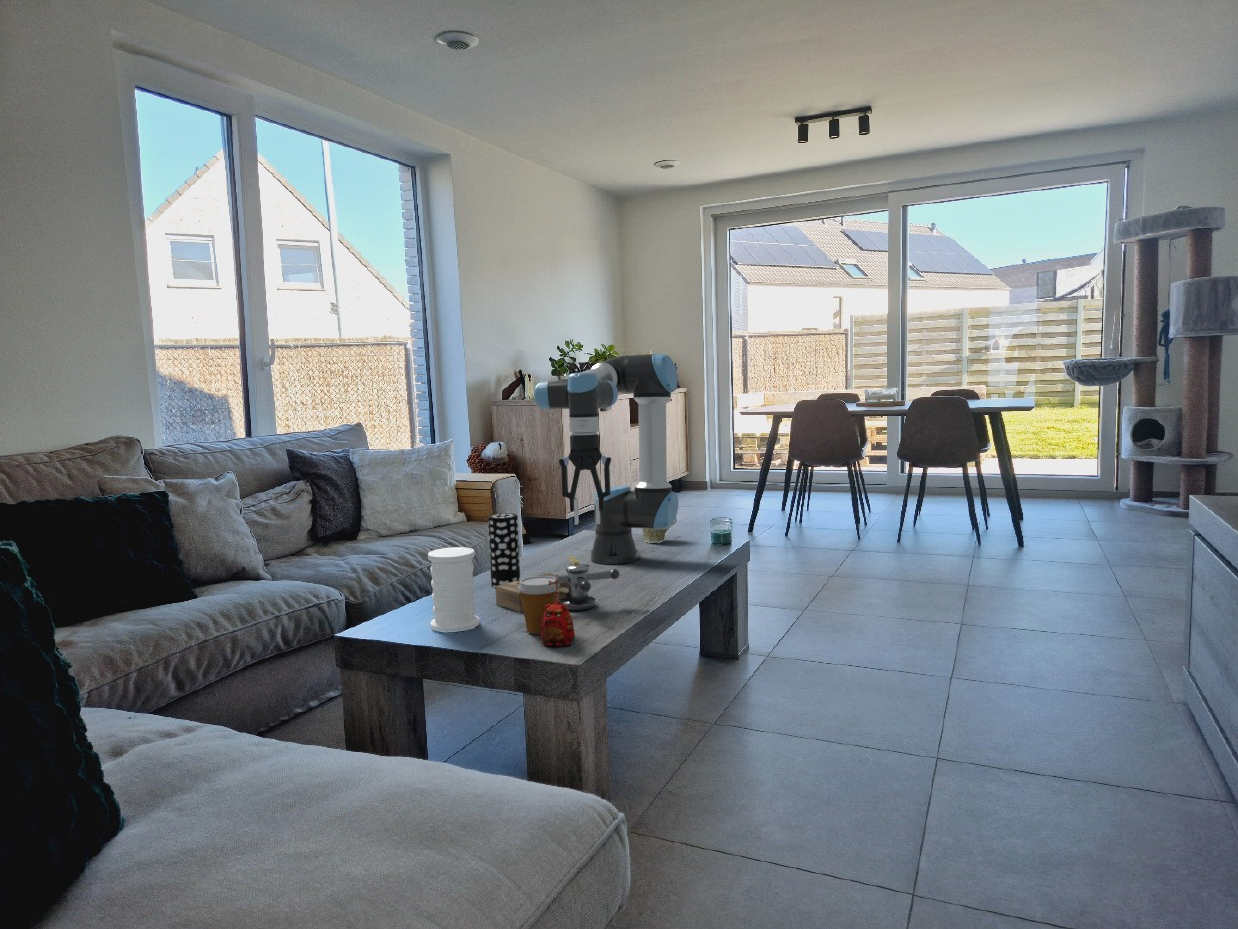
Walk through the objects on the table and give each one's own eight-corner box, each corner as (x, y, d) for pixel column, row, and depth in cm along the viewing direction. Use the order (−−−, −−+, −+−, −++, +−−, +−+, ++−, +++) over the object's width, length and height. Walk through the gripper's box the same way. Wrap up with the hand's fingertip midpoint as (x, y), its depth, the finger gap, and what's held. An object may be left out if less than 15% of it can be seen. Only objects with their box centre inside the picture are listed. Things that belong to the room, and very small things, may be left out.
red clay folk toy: (537, 648, 175) (534, 581, 174) (545, 638, 182) (543, 573, 181) (571, 649, 174) (569, 581, 172) (578, 638, 181) (576, 573, 179)
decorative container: (469, 634, 187) (465, 557, 185) (422, 632, 189) (418, 557, 187) (486, 619, 198) (482, 547, 196) (441, 618, 200) (437, 546, 198)
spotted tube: (526, 584, 231) (523, 515, 229) (503, 590, 225) (500, 519, 223) (508, 579, 236) (504, 512, 234) (485, 585, 230) (481, 516, 228)
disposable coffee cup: (544, 639, 181) (542, 587, 180) (511, 633, 186) (509, 583, 185) (569, 628, 189) (567, 578, 188) (537, 622, 194) (534, 573, 193)
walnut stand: (550, 590, 223) (549, 570, 222) (588, 601, 211) (588, 580, 211) (496, 604, 210) (495, 583, 210) (534, 616, 199) (533, 594, 198)
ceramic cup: (638, 545, 280) (637, 516, 279) (642, 539, 289) (641, 511, 288) (675, 545, 277) (675, 516, 276) (678, 539, 287) (677, 511, 286)
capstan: (631, 614, 197) (629, 569, 196) (543, 623, 192) (541, 577, 191) (610, 592, 218) (609, 551, 217) (530, 600, 213) (529, 558, 211)
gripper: (547, 435, 203) (550, 526, 205) (618, 433, 202) (621, 525, 204) (551, 433, 210) (555, 521, 213) (620, 431, 209) (623, 520, 212)
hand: (587, 523), depth 208 cm, fingers open, 5 cm apart
